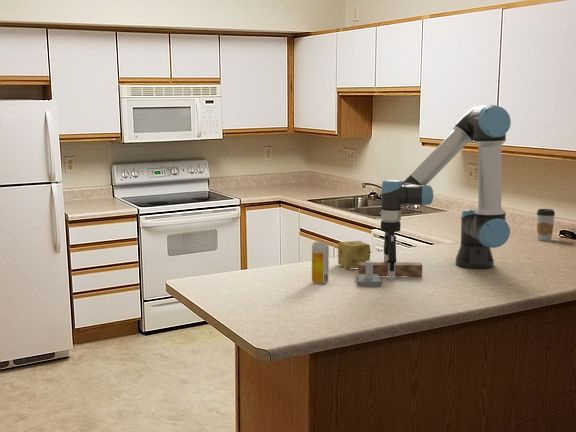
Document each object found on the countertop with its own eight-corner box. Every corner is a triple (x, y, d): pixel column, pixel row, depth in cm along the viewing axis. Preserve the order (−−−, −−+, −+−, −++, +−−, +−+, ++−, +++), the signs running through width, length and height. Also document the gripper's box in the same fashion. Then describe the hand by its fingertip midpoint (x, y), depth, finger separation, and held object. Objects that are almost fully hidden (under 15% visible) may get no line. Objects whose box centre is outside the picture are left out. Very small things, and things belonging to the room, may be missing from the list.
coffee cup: (534, 241, 333) (535, 210, 331) (536, 238, 341) (538, 208, 338) (552, 242, 329) (554, 211, 327) (554, 239, 337) (556, 209, 334)
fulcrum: (378, 279, 259) (378, 258, 257) (381, 287, 247) (381, 265, 246) (357, 279, 259) (357, 258, 258) (359, 287, 247) (359, 265, 246)
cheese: (345, 270, 273) (346, 246, 272) (336, 264, 283) (337, 241, 282) (370, 268, 276) (370, 244, 274) (360, 263, 286) (360, 239, 285)
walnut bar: (419, 274, 267) (420, 262, 266) (421, 278, 262) (422, 265, 261) (358, 274, 267) (358, 262, 266) (358, 277, 262) (359, 265, 262)
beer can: (318, 280, 258) (318, 240, 255) (331, 282, 254) (331, 242, 251) (308, 283, 253) (308, 243, 251) (321, 285, 249) (322, 245, 247)
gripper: (377, 215, 274) (376, 267, 277) (384, 226, 249) (382, 282, 252) (396, 215, 273) (394, 267, 277) (405, 226, 249) (403, 283, 252)
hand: (389, 275), depth 264 cm, fingers open, 13 cm apart
